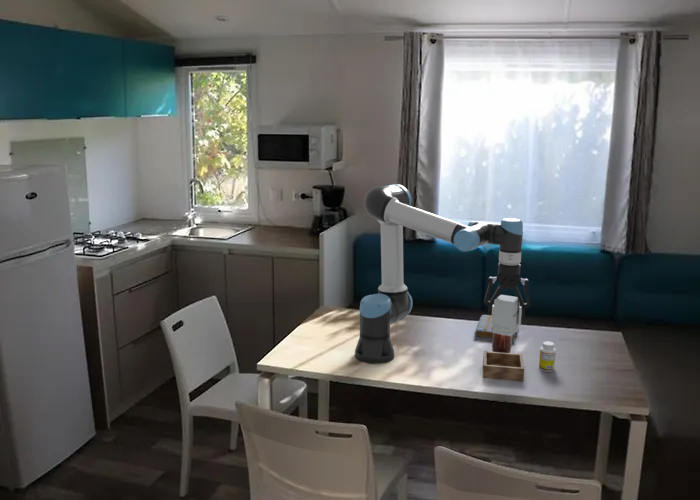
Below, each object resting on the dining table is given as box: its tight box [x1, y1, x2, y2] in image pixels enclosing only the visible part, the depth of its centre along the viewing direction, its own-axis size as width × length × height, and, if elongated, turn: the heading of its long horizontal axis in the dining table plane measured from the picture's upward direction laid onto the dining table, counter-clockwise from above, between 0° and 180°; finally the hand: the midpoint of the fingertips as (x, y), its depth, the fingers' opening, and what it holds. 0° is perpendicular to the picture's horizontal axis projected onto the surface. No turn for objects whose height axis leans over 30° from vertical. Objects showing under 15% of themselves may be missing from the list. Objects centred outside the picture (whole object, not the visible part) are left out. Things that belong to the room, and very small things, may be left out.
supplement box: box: [492, 294, 521, 336], centre depth 236 cm, size 7×7×13 cm
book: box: [474, 314, 518, 344], centre depth 282 cm, size 21×16×5 cm
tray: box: [482, 350, 525, 382], centre depth 240 cm, size 14×14×5 cm
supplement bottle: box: [538, 340, 557, 373], centre depth 243 cm, size 6×6×10 cm
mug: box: [491, 325, 512, 353], centre depth 257 cm, size 12×9×10 cm
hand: (505, 324), depth 237 cm, fingers closed on supplement box, 9 cm apart
